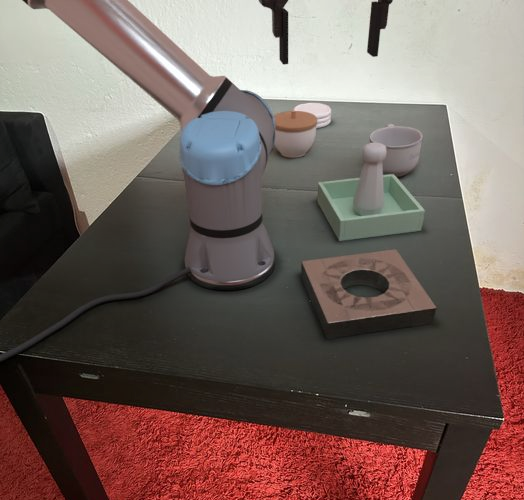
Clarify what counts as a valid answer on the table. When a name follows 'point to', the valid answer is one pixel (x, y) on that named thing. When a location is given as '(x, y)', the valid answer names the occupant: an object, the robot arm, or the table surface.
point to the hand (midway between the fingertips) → (328, 58)
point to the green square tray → (385, 223)
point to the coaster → (317, 112)
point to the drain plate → (360, 308)
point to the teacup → (398, 148)
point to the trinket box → (294, 132)
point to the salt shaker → (370, 181)
